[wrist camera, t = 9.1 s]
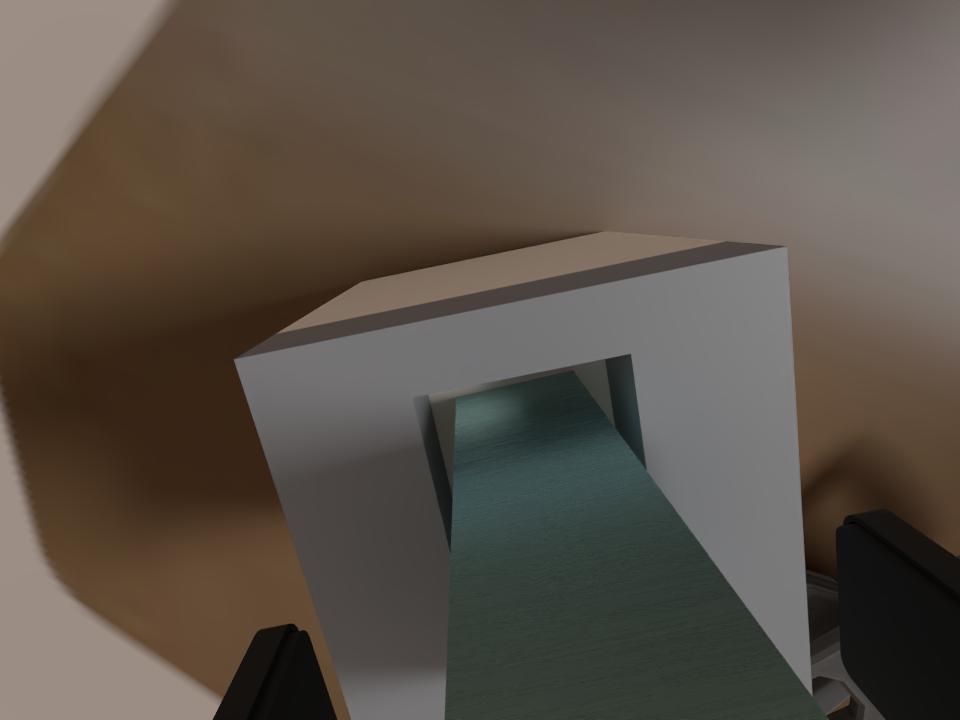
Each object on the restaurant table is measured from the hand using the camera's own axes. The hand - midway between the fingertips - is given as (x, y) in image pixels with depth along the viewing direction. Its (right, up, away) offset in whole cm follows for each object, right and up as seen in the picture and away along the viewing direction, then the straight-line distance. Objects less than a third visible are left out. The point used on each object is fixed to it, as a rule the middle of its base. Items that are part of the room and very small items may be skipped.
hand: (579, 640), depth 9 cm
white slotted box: (-1, +4, +16) cm, 17 cm away
